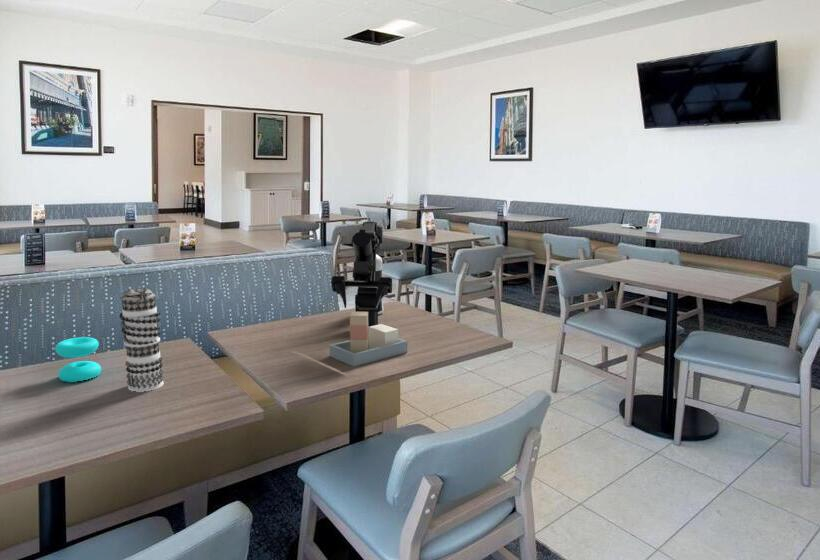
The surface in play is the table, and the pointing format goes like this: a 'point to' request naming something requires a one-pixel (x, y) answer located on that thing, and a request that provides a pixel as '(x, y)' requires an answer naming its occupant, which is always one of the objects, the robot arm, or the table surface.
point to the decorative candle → (141, 340)
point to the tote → (366, 352)
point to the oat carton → (359, 331)
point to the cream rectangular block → (382, 336)
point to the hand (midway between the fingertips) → (360, 307)
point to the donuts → (81, 368)
